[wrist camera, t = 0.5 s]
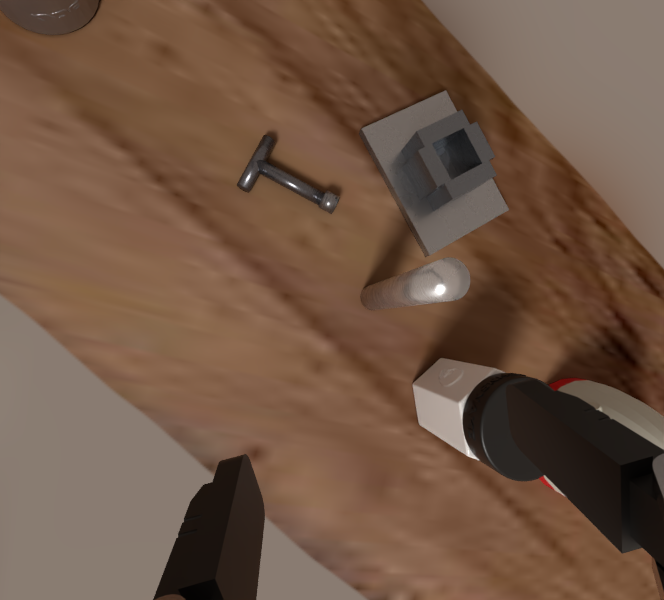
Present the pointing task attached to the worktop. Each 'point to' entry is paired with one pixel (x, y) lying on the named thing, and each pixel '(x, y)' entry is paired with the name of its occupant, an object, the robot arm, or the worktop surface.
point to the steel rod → (419, 286)
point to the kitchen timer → (614, 410)
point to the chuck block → (436, 170)
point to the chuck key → (282, 178)
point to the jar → (473, 414)
